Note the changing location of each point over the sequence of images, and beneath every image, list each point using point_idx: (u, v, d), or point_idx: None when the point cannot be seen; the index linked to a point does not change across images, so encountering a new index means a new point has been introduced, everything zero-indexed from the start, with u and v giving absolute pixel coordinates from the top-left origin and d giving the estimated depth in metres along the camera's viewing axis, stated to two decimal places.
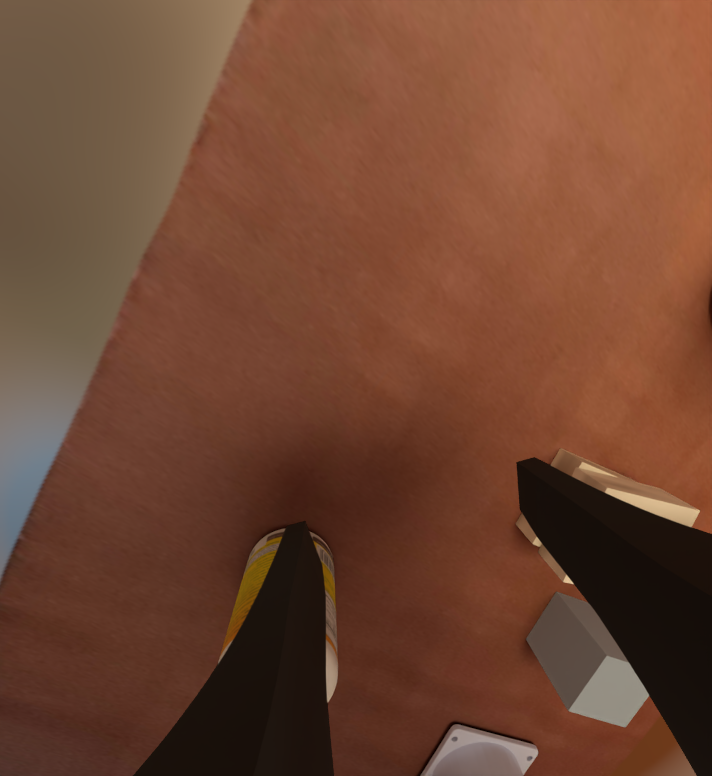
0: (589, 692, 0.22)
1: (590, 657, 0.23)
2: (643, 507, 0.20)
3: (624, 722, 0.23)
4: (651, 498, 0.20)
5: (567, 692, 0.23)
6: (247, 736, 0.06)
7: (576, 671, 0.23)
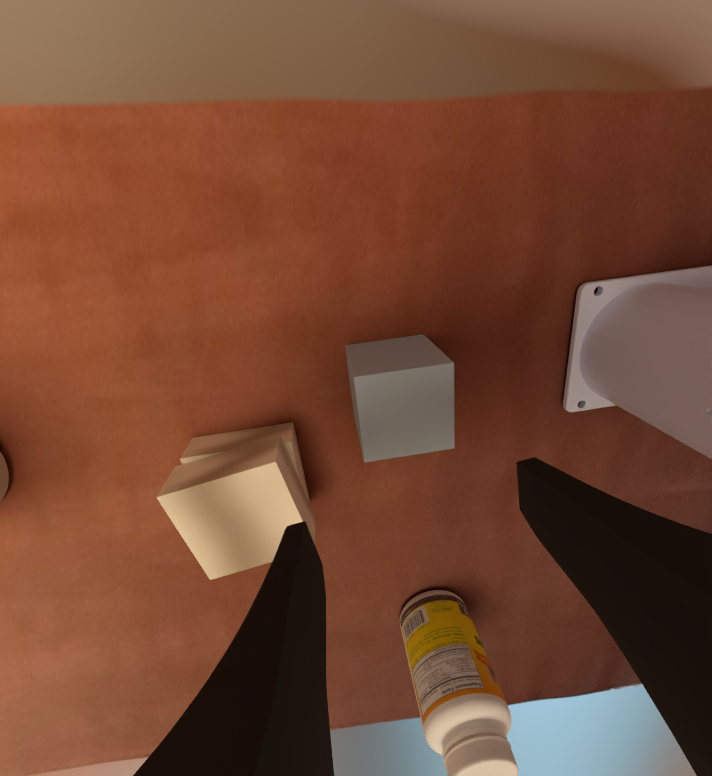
0: (420, 444, 0.18)
1: None
2: (200, 543, 0.19)
3: (446, 370, 0.16)
4: (186, 541, 0.19)
5: None
6: (247, 736, 0.06)
7: None
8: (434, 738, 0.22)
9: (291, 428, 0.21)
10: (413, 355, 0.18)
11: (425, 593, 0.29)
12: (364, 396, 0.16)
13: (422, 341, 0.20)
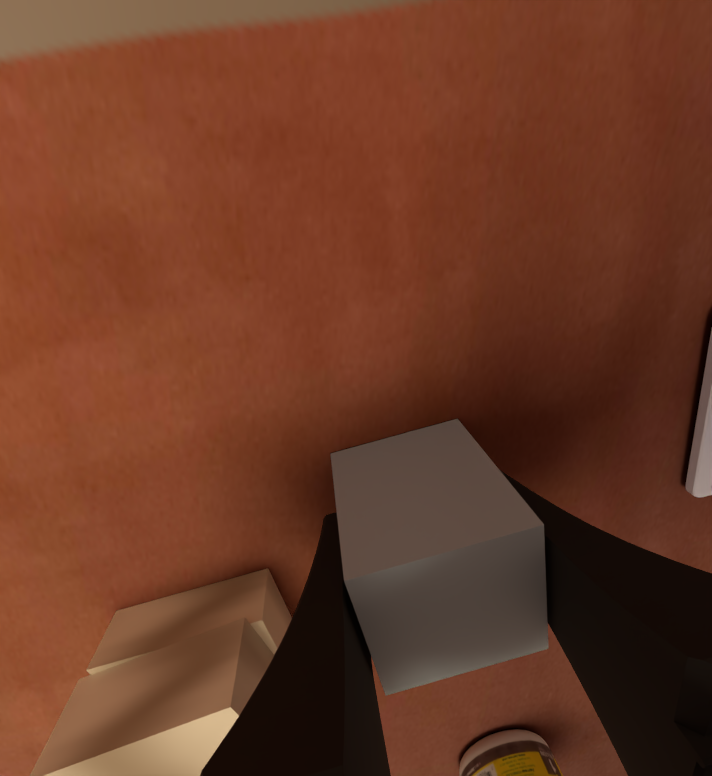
0: (485, 653, 0.10)
1: None
2: None
3: (528, 539, 0.08)
4: None
5: None
6: (327, 713, 0.06)
7: None
8: None
9: (264, 582, 0.14)
10: (453, 492, 0.09)
11: (491, 739, 0.20)
12: (370, 607, 0.08)
13: (460, 443, 0.11)
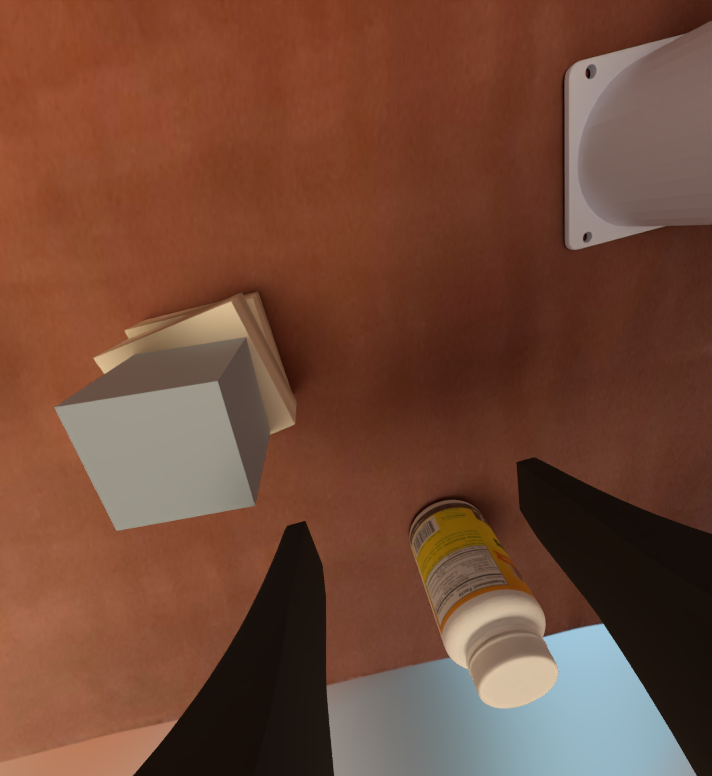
0: (198, 502, 0.12)
1: None
2: None
3: (207, 393, 0.10)
4: None
5: None
6: (247, 736, 0.06)
7: None
8: (454, 646, 0.19)
9: (255, 293, 0.18)
10: (185, 369, 0.12)
11: (434, 504, 0.25)
12: (82, 436, 0.11)
13: (228, 348, 0.14)
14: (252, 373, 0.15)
